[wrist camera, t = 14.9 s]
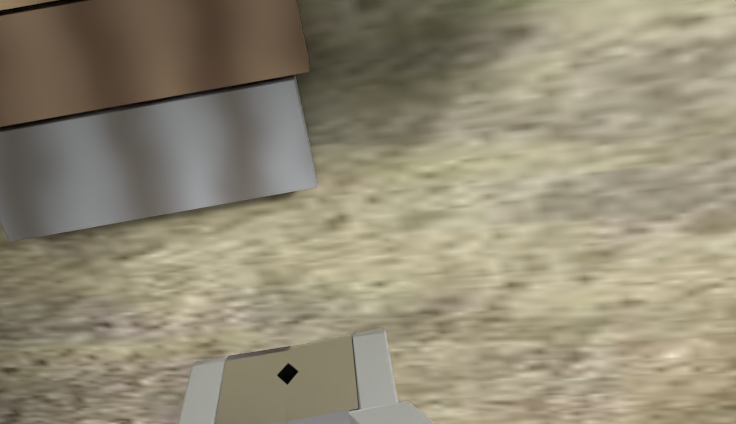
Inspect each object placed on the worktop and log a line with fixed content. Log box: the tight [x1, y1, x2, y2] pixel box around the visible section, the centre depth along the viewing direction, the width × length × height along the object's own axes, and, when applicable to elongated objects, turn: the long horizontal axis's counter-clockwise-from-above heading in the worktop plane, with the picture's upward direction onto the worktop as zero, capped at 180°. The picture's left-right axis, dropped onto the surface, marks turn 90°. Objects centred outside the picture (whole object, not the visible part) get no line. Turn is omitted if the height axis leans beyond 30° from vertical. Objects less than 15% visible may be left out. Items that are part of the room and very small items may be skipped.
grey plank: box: [0, 75, 317, 242], centre depth 39 cm, size 20×7×2 cm, turn 99°
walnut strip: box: [0, 0, 310, 127], centre depth 36 cm, size 22×6×2 cm, turn 99°
